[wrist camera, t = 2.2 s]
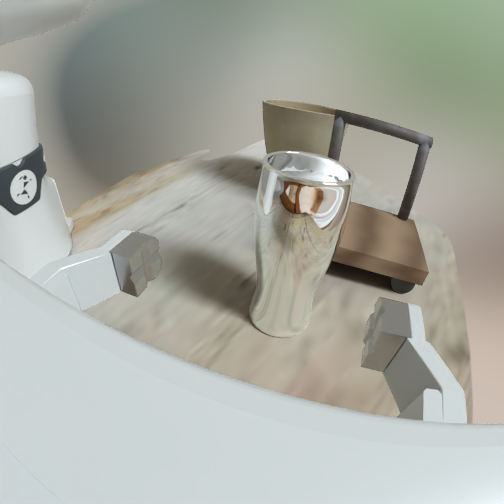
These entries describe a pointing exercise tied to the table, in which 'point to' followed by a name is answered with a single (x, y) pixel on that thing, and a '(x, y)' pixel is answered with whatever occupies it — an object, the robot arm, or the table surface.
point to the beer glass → (296, 235)
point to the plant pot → (297, 126)
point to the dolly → (383, 216)
